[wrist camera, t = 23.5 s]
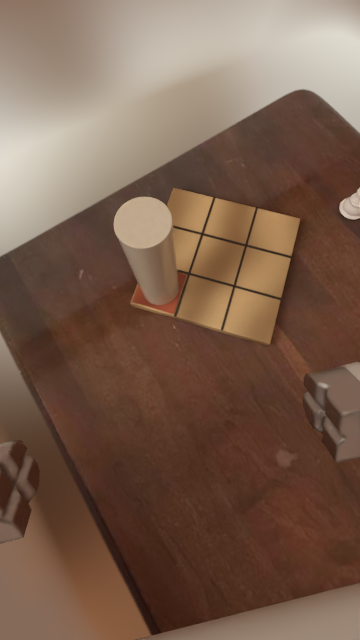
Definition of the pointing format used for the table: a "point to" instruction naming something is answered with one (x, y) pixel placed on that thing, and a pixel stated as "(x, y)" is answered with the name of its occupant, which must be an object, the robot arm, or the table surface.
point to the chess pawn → (351, 206)
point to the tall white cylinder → (149, 247)
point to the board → (227, 265)
